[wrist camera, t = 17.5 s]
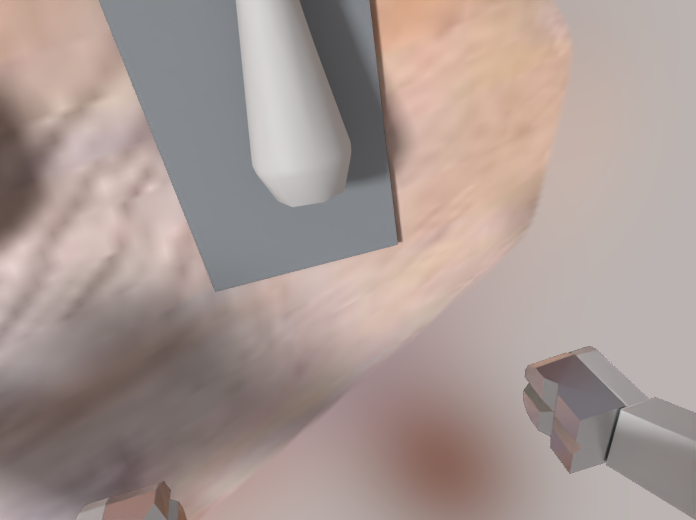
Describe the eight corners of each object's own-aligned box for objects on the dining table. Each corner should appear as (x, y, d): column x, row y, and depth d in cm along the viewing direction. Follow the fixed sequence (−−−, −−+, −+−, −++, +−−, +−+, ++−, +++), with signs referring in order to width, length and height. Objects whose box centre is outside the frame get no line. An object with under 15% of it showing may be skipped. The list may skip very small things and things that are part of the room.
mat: (395, 241, 34) (397, 244, 34) (215, 288, 33) (215, 291, 32) (357, -80, 24) (359, -82, 23) (88, -32, 22) (85, -33, 22)
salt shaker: (247, 215, 25) (164, -56, 19) (285, 181, 30) (227, -46, 24) (344, 209, 24) (284, -94, 18) (368, 173, 28) (327, -74, 22)
